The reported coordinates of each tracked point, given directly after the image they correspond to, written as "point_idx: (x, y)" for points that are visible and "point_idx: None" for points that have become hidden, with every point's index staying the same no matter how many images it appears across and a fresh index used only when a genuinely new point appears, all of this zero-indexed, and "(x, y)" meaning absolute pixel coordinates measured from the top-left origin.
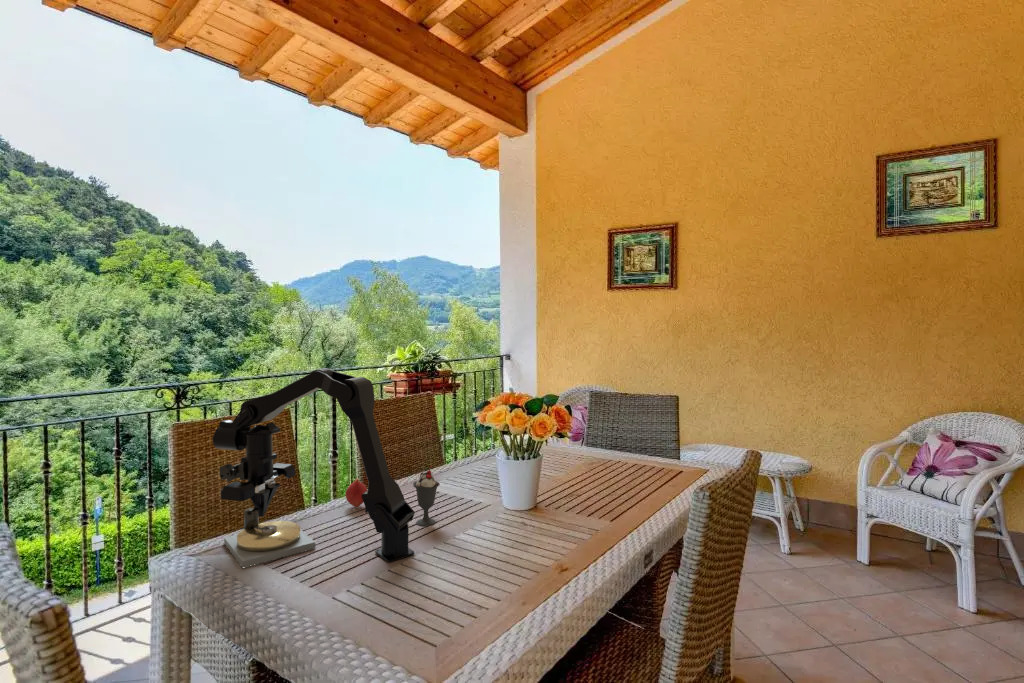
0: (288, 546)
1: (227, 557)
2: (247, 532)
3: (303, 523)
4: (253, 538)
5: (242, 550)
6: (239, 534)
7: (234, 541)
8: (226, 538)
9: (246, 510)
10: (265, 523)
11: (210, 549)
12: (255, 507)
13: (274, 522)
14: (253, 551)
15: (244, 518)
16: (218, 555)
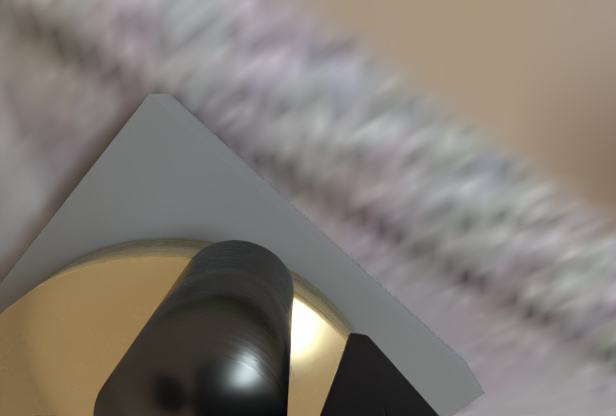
0: None
1: (15, 233)
2: (128, 321)
3: (535, 388)
4: (49, 409)
5: None
6: (71, 287)
7: (114, 213)
8: (143, 121)
9: (149, 386)
10: (324, 354)
11: (71, 46)
12: (326, 403)
13: None
14: None
15: (154, 313)
16: (16, 163)
